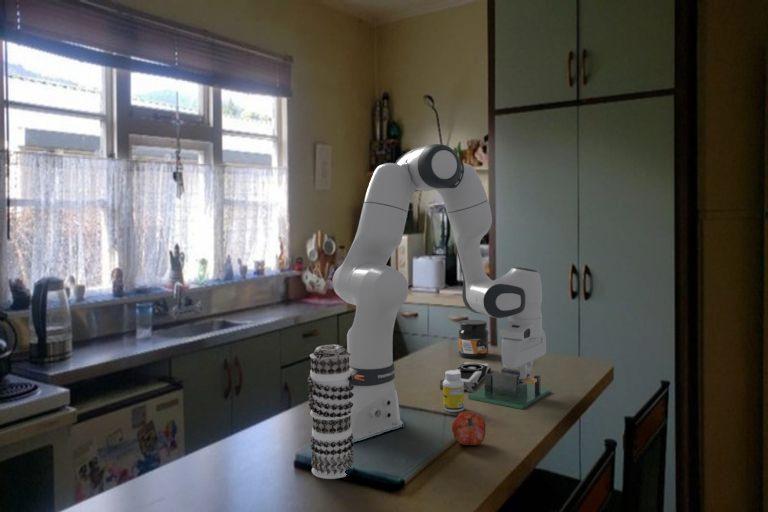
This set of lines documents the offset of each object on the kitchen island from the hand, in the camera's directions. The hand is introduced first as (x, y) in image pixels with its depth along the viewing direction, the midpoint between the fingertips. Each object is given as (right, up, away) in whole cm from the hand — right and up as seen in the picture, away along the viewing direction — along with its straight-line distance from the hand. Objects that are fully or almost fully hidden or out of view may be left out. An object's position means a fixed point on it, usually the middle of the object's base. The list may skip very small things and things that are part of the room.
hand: (525, 377), depth 168 cm
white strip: (-3, -1, +3) cm, 4 cm away
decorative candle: (-49, -10, -44) cm, 66 cm away
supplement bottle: (-20, -7, -8) cm, 23 cm away
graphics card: (-13, -5, +20) cm, 24 cm away
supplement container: (-7, -2, +50) cm, 51 cm away
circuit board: (-4, -6, +3) cm, 7 cm away
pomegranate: (-20, -9, -31) cm, 38 cm away
